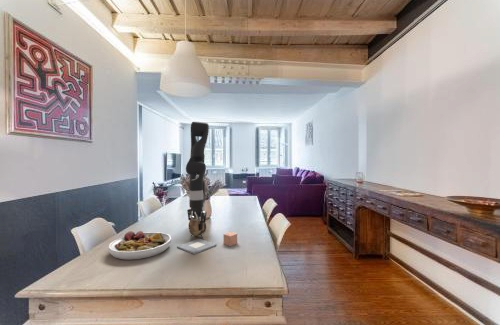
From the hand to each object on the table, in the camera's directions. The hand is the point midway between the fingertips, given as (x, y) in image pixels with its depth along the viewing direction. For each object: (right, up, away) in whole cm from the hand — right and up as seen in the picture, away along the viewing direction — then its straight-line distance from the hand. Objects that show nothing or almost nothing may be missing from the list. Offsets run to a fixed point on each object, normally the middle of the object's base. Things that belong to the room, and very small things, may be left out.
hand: (196, 229), depth 131 cm
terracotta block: (+18, -10, +5) cm, 21 cm away
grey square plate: (0, -10, 0) cm, 10 cm away
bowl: (-29, -11, -3) cm, 31 cm away
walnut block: (0, -1, 0) cm, 1 cm away
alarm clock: (-3, -10, +17) cm, 20 cm away
